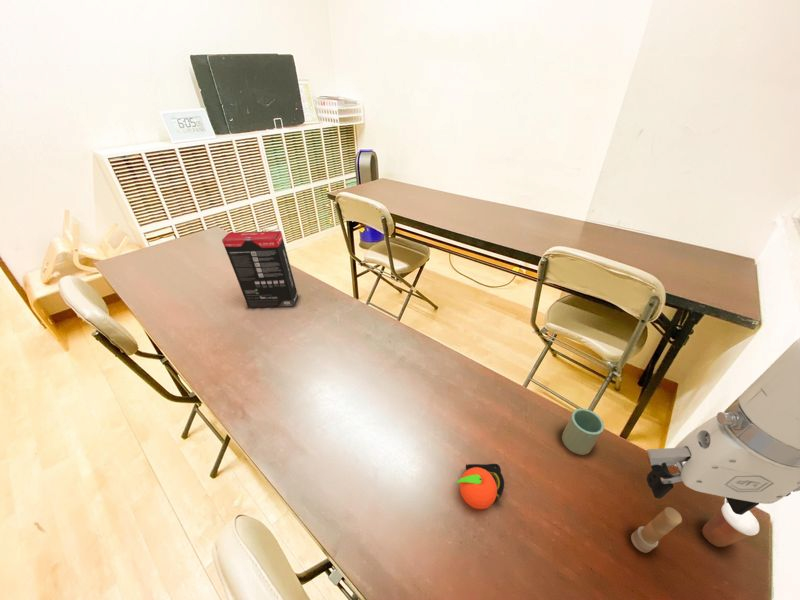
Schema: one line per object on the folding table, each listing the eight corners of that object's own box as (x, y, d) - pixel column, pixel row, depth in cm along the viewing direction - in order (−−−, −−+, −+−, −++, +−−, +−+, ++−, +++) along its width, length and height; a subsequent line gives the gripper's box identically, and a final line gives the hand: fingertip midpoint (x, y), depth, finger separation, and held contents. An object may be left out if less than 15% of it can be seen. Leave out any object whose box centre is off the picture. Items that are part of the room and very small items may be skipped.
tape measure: (497, 469, 67) (500, 460, 65) (505, 506, 62) (508, 497, 60) (465, 469, 68) (466, 460, 65) (469, 505, 62) (471, 496, 60)
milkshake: (704, 513, 60) (736, 488, 54) (736, 546, 56) (774, 523, 50) (686, 522, 59) (716, 498, 53) (717, 556, 55) (754, 535, 49)
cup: (597, 446, 70) (610, 426, 66) (578, 459, 68) (590, 439, 64) (574, 424, 75) (584, 404, 70) (555, 436, 73) (565, 415, 68)
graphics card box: (300, 296, 120) (281, 228, 104) (295, 307, 114) (275, 237, 98) (254, 298, 120) (228, 230, 104) (247, 310, 114) (219, 240, 98)
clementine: (454, 514, 61) (457, 498, 57) (451, 476, 66) (454, 459, 62) (497, 516, 60) (503, 500, 56) (490, 477, 66) (496, 460, 62)
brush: (654, 546, 56) (689, 519, 49) (644, 556, 55) (678, 530, 48) (637, 528, 58) (668, 500, 51) (627, 538, 57) (657, 510, 50)
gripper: (700, 446, 34) (633, 509, 45) (906, 480, 31) (781, 540, 41) (669, 388, 40) (616, 457, 50) (840, 413, 37) (745, 480, 47)
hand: (691, 494), depth 46 cm, fingers open, 9 cm apart
